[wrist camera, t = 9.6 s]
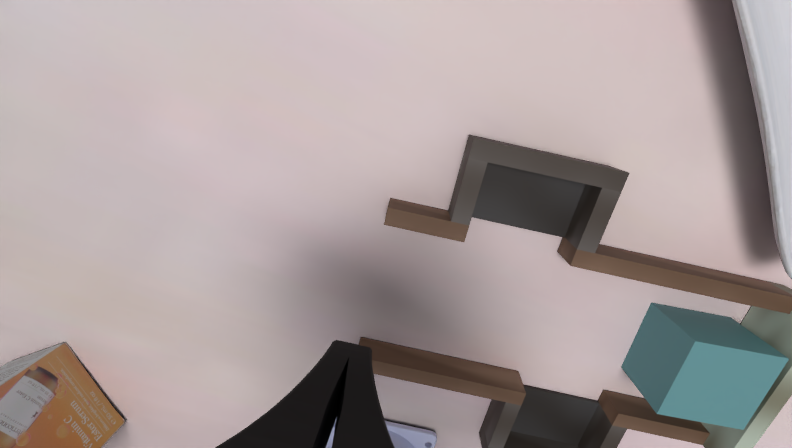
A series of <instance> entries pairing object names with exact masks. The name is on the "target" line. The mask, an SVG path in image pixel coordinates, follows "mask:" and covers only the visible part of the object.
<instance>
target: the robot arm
mask: <svg viewBox="0 0 792 448" xmlns="http://www.w3.org/2000/svg"><path fill="white" fill-rule="evenodd" d="M335 422H336V423H335ZM436 441H437V435H436V433H435V432H433V431H430V430H426V429H421V428H416V427H412V426H407V425H402V424H398V423H393V422H389V421H385V420H384V417H383V414H382V410H381V407H380V403H379V399H378V395H377V390H376V386H375V381H374V375H373V367H372V350H371V348H370V347H366V346H361V345H357V344H352V343H348V342H343V341H338V340H336V341H334V342H332V344H331V346H330V347H329V349H328V350H327V352H326V353H325V354H324V356H323V357H322V358H321V359H320V361H319V362H318V363H317V364H316V365H315V367H314V368H313V369H312V370H311V371H310V372H309V373H308V374H307V376H306V377H305V378H304V379H303V380H302V381H301V382H300V383H299V384H298V385H297V386H296V387H295V388H294V389H293V390H292V391H291V392H290V393H289V394H288V395H286V396H285V397H284V398H283V399H282V400H281V401H280V402H279V403H277V404H276V405H275V406H274V407H273V408H271V409H270V410H269V411H268V412H267V413H265V414H264V415H263V416H261V417H260V418H259V419H257V420H256V421H255V422H253V423H252V424H251V425H249V426H248V427H247V428H245V429H244V430H242V431H241V432H239V433H238V434H236V435H235V436H233V437H231V438H230V439H228V440H227V441H225V442H224V443H222V444H220V445H219V446H217V447H216V448H434V447H435V444H436ZM427 442H430V443H427Z"/></svg>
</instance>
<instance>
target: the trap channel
mask: <svg viewBox="0 0 792 448" xmlns="http://www.w3.org/2000/svg"><path fill="white" fill-rule="evenodd" d="M628 175H629V173H628V172H625V171H622V170H619V169H616V168H614V167H611V166H607V165H602V164H598V163H593V162H589V161H585V160H580V159H576V158H571V157H567V156H562V155H558V154H553V153H549V152H544V151H540V150H535V149H531V148H527V147H522V146H518V145H513V144H509V143H504V142H500V141H495V140H491V139H486V138H482V137H477V136H473V135H469V137H468V140H467V144H466V148H465V151H464V155H463V159H462V162H461V166H460V170H459V173H458V177H457V181H456V185H455V188H454V192H453V196H452V199H451V203H450V207H449V210H448V211H447V210H442V209H438V208H433V207H429V206H424V205H420V204H415V203H411V202H406V201H402V200H397V199H393V198H390V202H389V205H388V209H387V213H386V218H385V223H384V225H388V226H393V227H397V228H402V229H406V230H411V231H415V232H420V233H424V234H429V235H434V236H438V237H443V238H447V239H452V240H456V241H461V242H464V241H465V238H466V234H467V231H468V228H469V224H470V221H471V217H474V218H479V219H483V220H488V221H492V222H497V223H501V224H506V225H510V226H515V227H519V228H524V229H528V230H533V231H537V232H542V233H546V234H551V235H555V236H560V237H563V239H562V241H561V244H560V246H559V249H558V251H557V252H558V253H559V254H560V255H561V256H562V257H563V258H564V259H565V260H566V262H567V263H568V264H569V265H570V266H574V267H578V268H583V269H587V270H592V271H596V272H601V273H606V274H610V275H615V276H619V277H624V278H628V279H633V280H637V281H642V282H646V283H651V284H655V285H660V286H664V287H669V288H673V289H678V290H682V291H687V292H692V293H696V294H701V295H705V296H710V297H714V298H719V299H723V300H728V301H732V302H737V303H741V304H746V305H750V306H751V308H750V310H749V311H748V313H747V315H746V316H745V318H744V319H743V321H742V323H741V325H742V326H743V327H745V328H746V329H748V330H749V331H751V332H752V333H753V334H755V335H756V336H758V337H759V338H760V339H762V340H763V341H765V342H766V343H768V344H769V345H770V346H772V347H773V348H775V349H776V350H778V351H779V352H780V353H782V354H783V355H785V356H786V357H788V358H789V360H788V362H787V363H786V365H785V366H784V368H783V369H782V371H781V372H780V374H779V376H778V377H777V379H776V380H775V382H774V383H773V385H772V386H771V388H770V390H769V391H768V393H767V394H766V396H765V397H764V399H763V400H762V402H761V403H760V405H759V407H758V408H757V410H756V411H755V413H754V414H753V416H752V417H751V419H750V421H749V422H748V424H747V425H746V427H745V428H744V430H741V429H735V428H730V427H724V426H719V425H714V424H708V423H703V422H697V421H692V420H687V419H681V418H676V417H671V416H665V415H660V414H656V412H655V411H654V410H653V408H652V407H651V406H650V404H649V403H648V402H647V400H646V399H643V398H639V397H634V396H629V395H625V394H620V393H616V392H611V391H606V390H603V392H602V394H601V396H600V398H599V400H598V401H595V400H591V399H586V398H582V397H577V396H572V395H568V394H563V393H559V392H554V391H549V390H545V389H540V388H536V387H531V386H526V385H523V383H522V380H521V377H520V375H519V372H518V371H515V370H510V369H505V368H501V367H496V366H492V365H487V364H482V363H478V362H473V361H469V360H464V359H459V358H455V357H450V356H446V355H441V354H436V353H432V352H427V351H423V350H418V349H413V348H409V347H404V346H400V345H395V344H391V343H386V342H381V341H377V340H372V339H368V338H363V337H361V338H360V342H359V345H361V346H366V347H370V348H371V350H372V367H373V374H378V375H383V376H387V377H392V378H396V379H401V380H406V381H410V382H415V383H419V384H424V385H429V386H433V387H438V388H443V389H447V390H452V391H456V392H461V393H466V394H470V395H475V396H479V397H484V398H489V399H492V401H491V404H490V406H489V409H488V411H487V414H486V417H485V419H484V422H483V424H482V427H481V430H480V432H479V434H480V440H481V445H482V448H617V446H618V444H619V443H620V441H621V439H622V437H623V435H624V434H625V432H626V430H627V429H632V430H636V431H641V432H646V433H650V434H655V435H659V436H664V437H669V438H673V439H678V440H682V441H687V442H692V443H696V444H701V445H703V446H704V447H705V448H753V447H754V446H755V445H756V443H757V442H758V441H759V439H760V438H761V436H762V435H763V434H764V432H765V431H766V430H767V428H768V427H769V425H770V424H771V423H772V421H773V420H774V419H775V417H776V416H777V414H778V413H779V412H780V410H781V409H782V408H783V406H784V405H785V403H786V402H787V401H788V399H789V398H790V397H791V395H792V289H790V288H788V287H786V286H784V285H781V284H776V283H772V282H767V281H763V280H758V279H754V278H749V277H745V276H740V275H736V274H731V273H726V272H722V271H717V270H713V269H708V268H704V267H699V266H695V265H690V264H686V263H681V262H677V261H672V260H668V259H663V258H659V257H654V256H650V255H645V254H641V253H636V252H632V251H627V250H623V249H618V248H614V247H609V246H605V245H600V244H599V243H600V240H601V238H602V236H603V233H604V231H605V229H606V226H607V224H608V222H609V219H610V217H611V215H612V212H613V210H614V208H615V205H616V203H617V201H618V198H619V196H620V194H621V191H622V189H623V187H624V184H625V182H626V180H627V177H628Z"/></svg>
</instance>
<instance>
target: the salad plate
mask: <svg viewBox="0 0 792 448" xmlns="http://www.w3.org/2000/svg"><path fill="white" fill-rule="evenodd" d="M732 3H733V7H734V12H735V16H736V20H737V24H738V29H739V33H740V37H741V41H742V45H743V50H744V55H745V59H746V64H747V68H748V73H749V78H750V82H751V87H752V92H753V96H754V101H755V106H756V111H757V116H758V122H759V128H760V134H761V139H762V145H763V151H764V157H765V164H766V171H767V179H768V186H769V194H770V203H771V211H772V220H773V228H774V234H775V240H776V244H777V248H778V251H779V254H780V257H781V261H782V264H783V266H784V269H785V271H786V273H787V274H788V275H789V277H790V278H791V279H792V0H732Z"/></svg>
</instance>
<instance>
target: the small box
mask: <svg viewBox="0 0 792 448" xmlns="http://www.w3.org/2000/svg"><path fill="white" fill-rule="evenodd" d="M124 423H125V421H124V419H123V418H122V417H121V416H120V415H119V413H118V412H117V411H116V410H115V409H114V408H113V406H112V405H111V404H110V402H109V401H108V400H107V398H106V397H105V396H104V394H103V393H102V392H101V390H100V389H99V388H98V386H97V385H96V384H95V382H94V381H93V379H92V378H91V377H90V375H89V374H88V373H87V371H86V370H85V369H84V367H83V366H82V365H81V363H80V362H79V360H78V359H77V357H76V356H75V354H74V352H73V351H72V349H71V348H70V347H69V345H68V344H67V343H61V344H58V345H55V346H52V347H50V348H47V349H44V350H41V351H38V352H35V353H33V354H30V355H27V356H24V357H21V358H18V359H16V360H13V361H10V362H8V363H6V364H5V365H3V366H2V367H0V448H102V447H103V446H104V445H105V444H106V442H107V441H108V440H109V439H110V438H111V437H112V436H113V435H114V434H115V433H116V432H117V431H118V430H119V429H120V428H121V426H122V425H123V424H124Z"/></svg>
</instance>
